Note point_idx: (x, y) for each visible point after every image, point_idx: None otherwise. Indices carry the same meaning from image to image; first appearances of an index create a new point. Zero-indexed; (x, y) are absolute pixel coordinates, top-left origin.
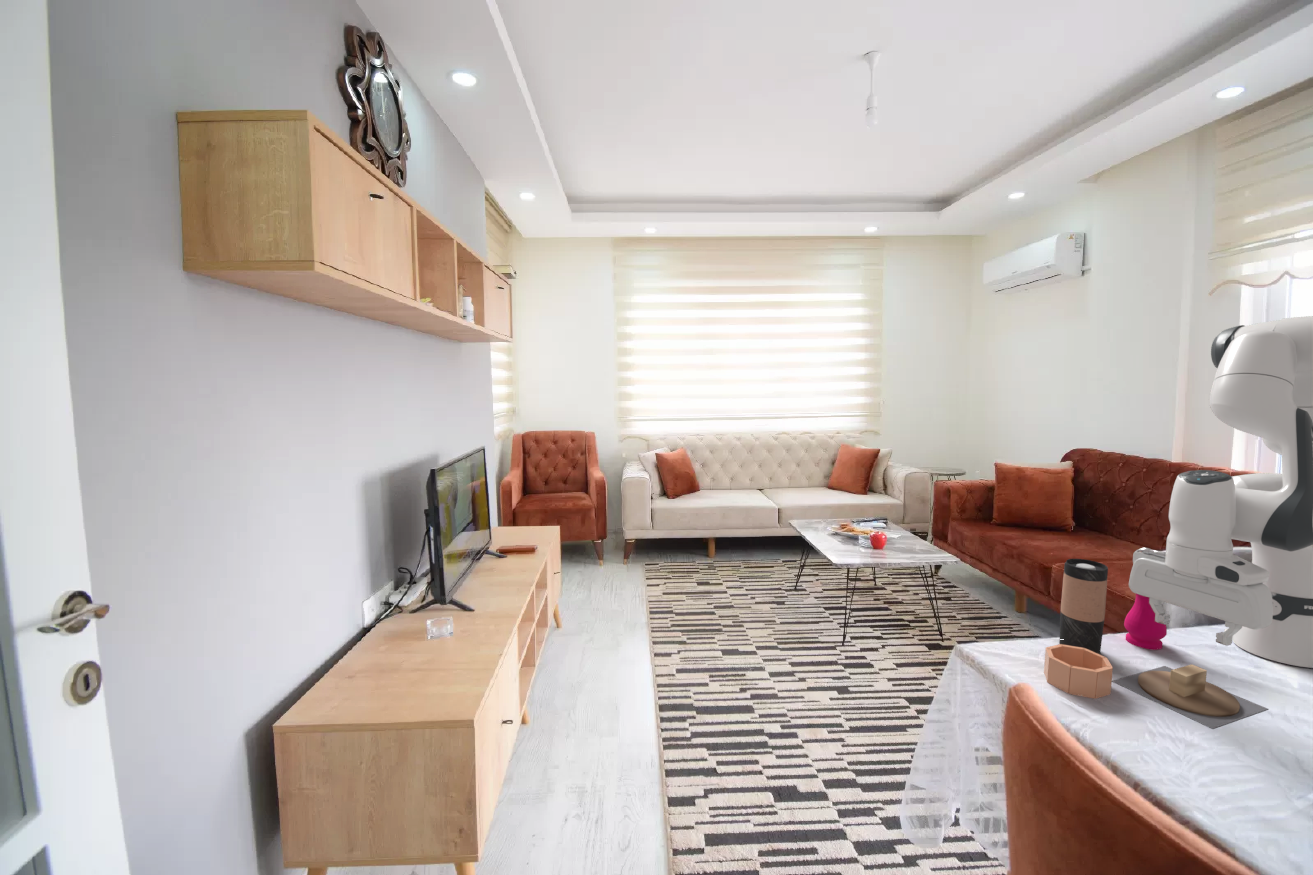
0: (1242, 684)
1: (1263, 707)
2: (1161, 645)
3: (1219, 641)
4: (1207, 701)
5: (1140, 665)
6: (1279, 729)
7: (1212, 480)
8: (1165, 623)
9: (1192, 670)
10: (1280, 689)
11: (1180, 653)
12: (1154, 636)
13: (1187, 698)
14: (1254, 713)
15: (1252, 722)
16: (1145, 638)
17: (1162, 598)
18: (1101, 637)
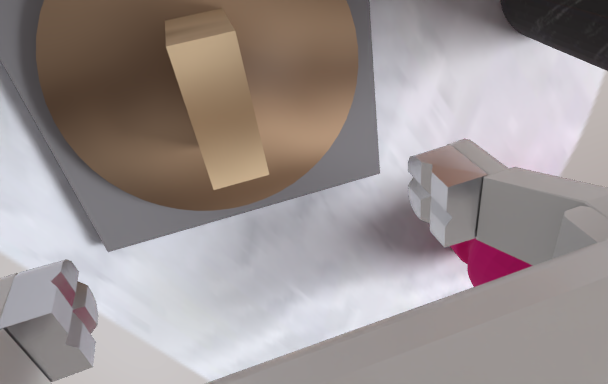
0: (260, 294)
1: (115, 245)
2: (455, 248)
3: (34, 273)
4: (127, 86)
5: (416, 115)
6: (7, 200)
7: None
8: (411, 171)
9: (220, 132)
10: (226, 350)
11: (420, 273)
12: (479, 243)
13: (152, 24)
14: (75, 192)
15: (46, 156)
16: None
17: (600, 274)
18: (565, 25)
